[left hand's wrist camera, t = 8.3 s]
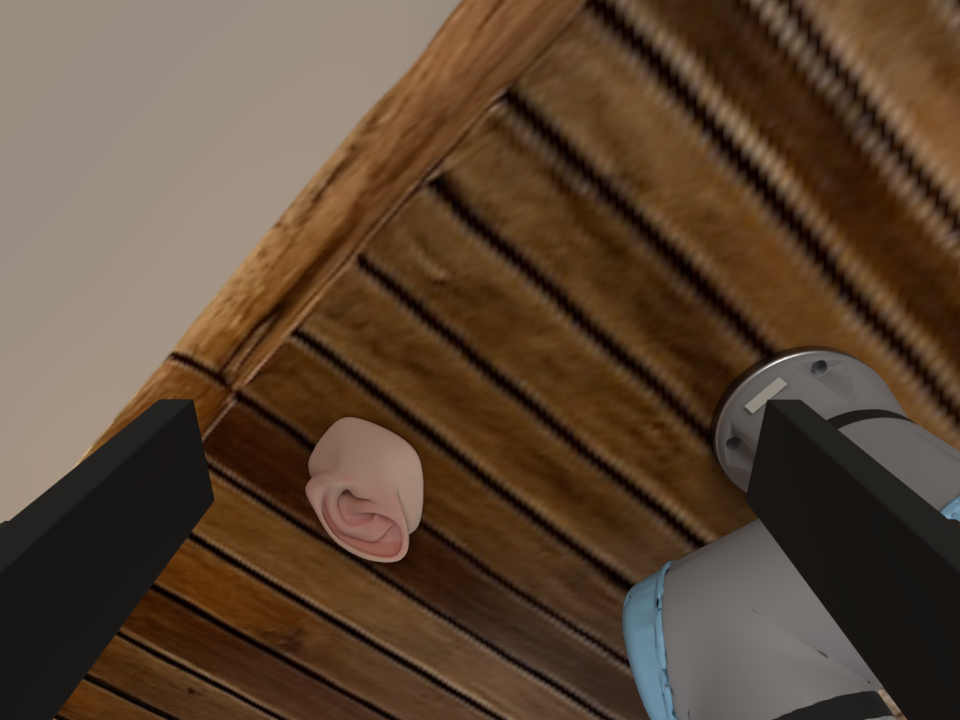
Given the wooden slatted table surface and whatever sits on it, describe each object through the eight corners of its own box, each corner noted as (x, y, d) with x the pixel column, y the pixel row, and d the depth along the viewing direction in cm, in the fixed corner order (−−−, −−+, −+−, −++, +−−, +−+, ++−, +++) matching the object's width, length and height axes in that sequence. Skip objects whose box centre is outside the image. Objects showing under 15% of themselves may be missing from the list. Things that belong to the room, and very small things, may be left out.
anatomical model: (302, 430, 47) (435, 455, 47) (315, 409, 50) (438, 432, 51) (289, 553, 51) (410, 573, 52) (301, 525, 55) (415, 544, 56)
